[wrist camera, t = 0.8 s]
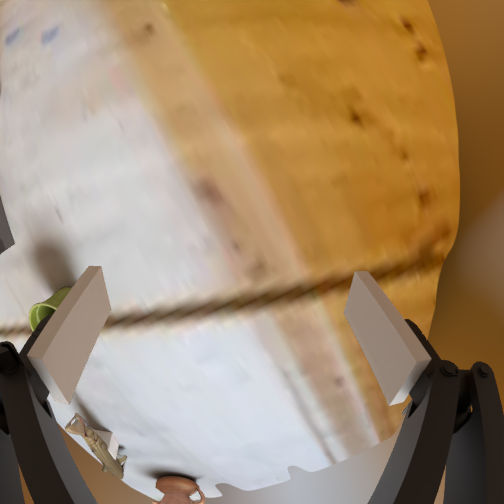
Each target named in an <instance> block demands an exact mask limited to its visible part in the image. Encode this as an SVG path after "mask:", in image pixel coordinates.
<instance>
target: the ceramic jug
mask: <svg viewBox="0 0 504 504" xmlns="http://www.w3.org/2000/svg"><path fill="white" fill-rule="evenodd" d="M156 488H157V489H158V490H160V491H161V492H162V493H164V494H165V495H164V497H163V498H162V500H161V501H159V502H155V501H153V504H204V503H205V496H204V494H203V492H202V491H201V490H200V488H199V486H198V485H197V484H196V483H195V482H194V481H192V480H190V479H188V478H184V477H180V476H165V477H161V478H159V479H158V480H157V482H156ZM197 491H198V492H199V494H200V496H201V501H200V502H195V501H193V500H191V499H190V497H189V496H191V495H192V494H194V493H196V492H197Z"/></svg>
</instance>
